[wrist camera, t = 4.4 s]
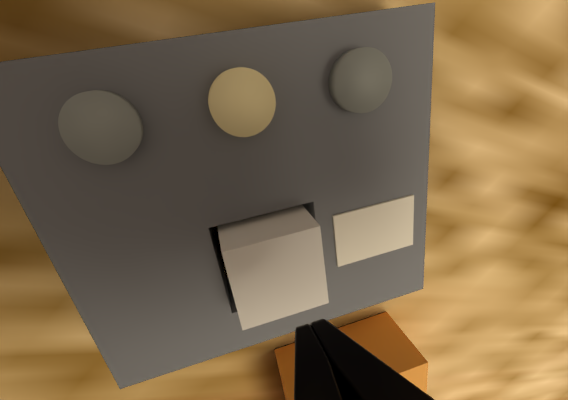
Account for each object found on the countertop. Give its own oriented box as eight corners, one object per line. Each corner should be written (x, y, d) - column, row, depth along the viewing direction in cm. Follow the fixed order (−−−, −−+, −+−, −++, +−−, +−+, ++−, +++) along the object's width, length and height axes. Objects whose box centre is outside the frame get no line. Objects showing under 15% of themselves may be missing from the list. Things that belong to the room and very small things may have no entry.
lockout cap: (291, 426, 20) (310, 495, 17) (274, 349, 17) (293, 414, 14) (387, 388, 22) (423, 446, 18) (386, 311, 19) (427, 362, 15)
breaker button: (231, 275, 14) (242, 330, 11) (214, 210, 13) (221, 252, 10) (300, 255, 15) (328, 302, 12) (291, 192, 14) (320, 226, 11)
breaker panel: (131, 341, 15) (116, 403, 12) (2, 71, 10) (-71, 68, 7) (393, 261, 17) (431, 296, 15) (392, 15, 13) (448, -2, 10)
